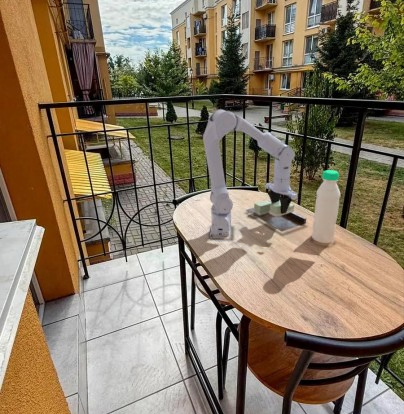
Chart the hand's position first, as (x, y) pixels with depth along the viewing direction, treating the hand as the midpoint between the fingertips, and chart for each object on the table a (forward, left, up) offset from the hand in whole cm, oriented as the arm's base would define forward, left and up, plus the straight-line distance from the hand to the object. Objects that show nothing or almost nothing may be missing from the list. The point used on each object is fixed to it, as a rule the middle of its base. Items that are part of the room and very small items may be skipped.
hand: (279, 210), depth 107 cm
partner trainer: (+8, +6, -4) cm, 10 cm away
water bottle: (-12, -13, -6) cm, 19 cm away
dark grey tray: (+4, +2, -6) cm, 7 cm away
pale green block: (0, 0, -1) cm, 1 cm away
